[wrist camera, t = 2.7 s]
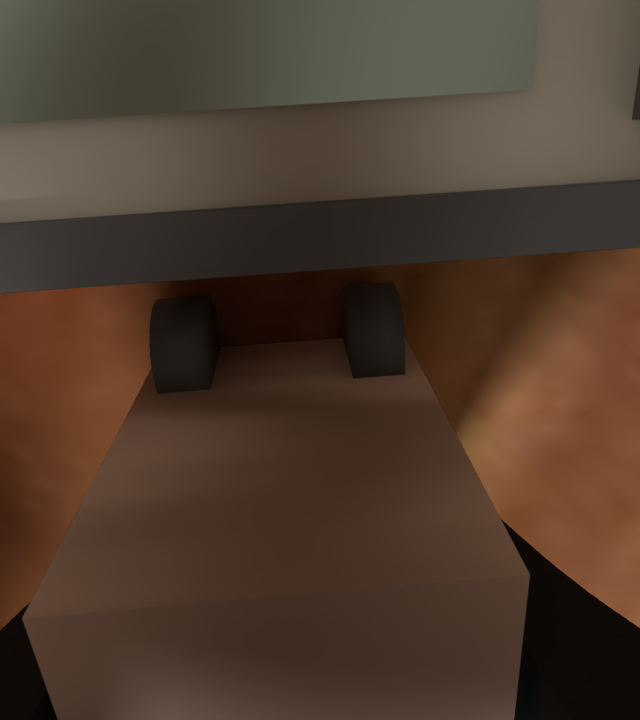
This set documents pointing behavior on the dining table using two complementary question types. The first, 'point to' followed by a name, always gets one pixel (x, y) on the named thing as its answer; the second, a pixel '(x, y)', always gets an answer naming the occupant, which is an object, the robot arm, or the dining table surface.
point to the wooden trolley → (283, 541)
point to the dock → (310, 135)
